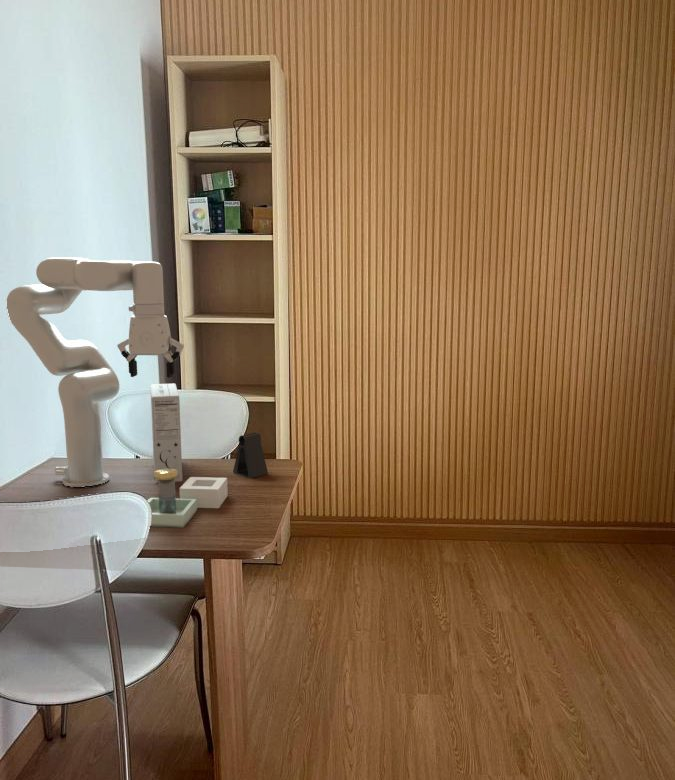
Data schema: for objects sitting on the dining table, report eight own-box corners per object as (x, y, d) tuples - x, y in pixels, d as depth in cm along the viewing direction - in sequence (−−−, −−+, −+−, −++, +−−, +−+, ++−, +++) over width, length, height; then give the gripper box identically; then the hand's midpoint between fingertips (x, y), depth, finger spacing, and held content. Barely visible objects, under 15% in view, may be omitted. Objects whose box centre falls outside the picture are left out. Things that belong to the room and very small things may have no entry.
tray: (134, 526, 172) (133, 513, 171) (150, 509, 184) (150, 497, 183) (183, 527, 171) (183, 515, 170) (197, 510, 183) (196, 499, 182)
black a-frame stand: (232, 472, 215) (232, 433, 213) (248, 468, 220) (247, 430, 218) (252, 478, 209) (251, 438, 207) (268, 474, 214) (267, 435, 211)
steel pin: (153, 519, 175) (150, 475, 172) (160, 511, 180) (158, 468, 178) (175, 520, 174) (173, 475, 172) (182, 512, 180) (180, 468, 177)
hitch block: (180, 507, 185) (179, 488, 184) (191, 494, 195) (190, 476, 194) (218, 508, 184) (218, 489, 183) (227, 495, 194) (227, 477, 193)
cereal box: (153, 463, 225) (150, 384, 221) (178, 461, 227) (175, 383, 223) (155, 483, 205) (151, 396, 200) (182, 481, 207) (179, 395, 202)
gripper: (110, 311, 183) (114, 378, 186) (177, 311, 181) (180, 379, 184) (121, 309, 190) (125, 373, 193) (186, 310, 189) (188, 374, 192)
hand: (152, 376), depth 189 cm, fingers open, 9 cm apart
